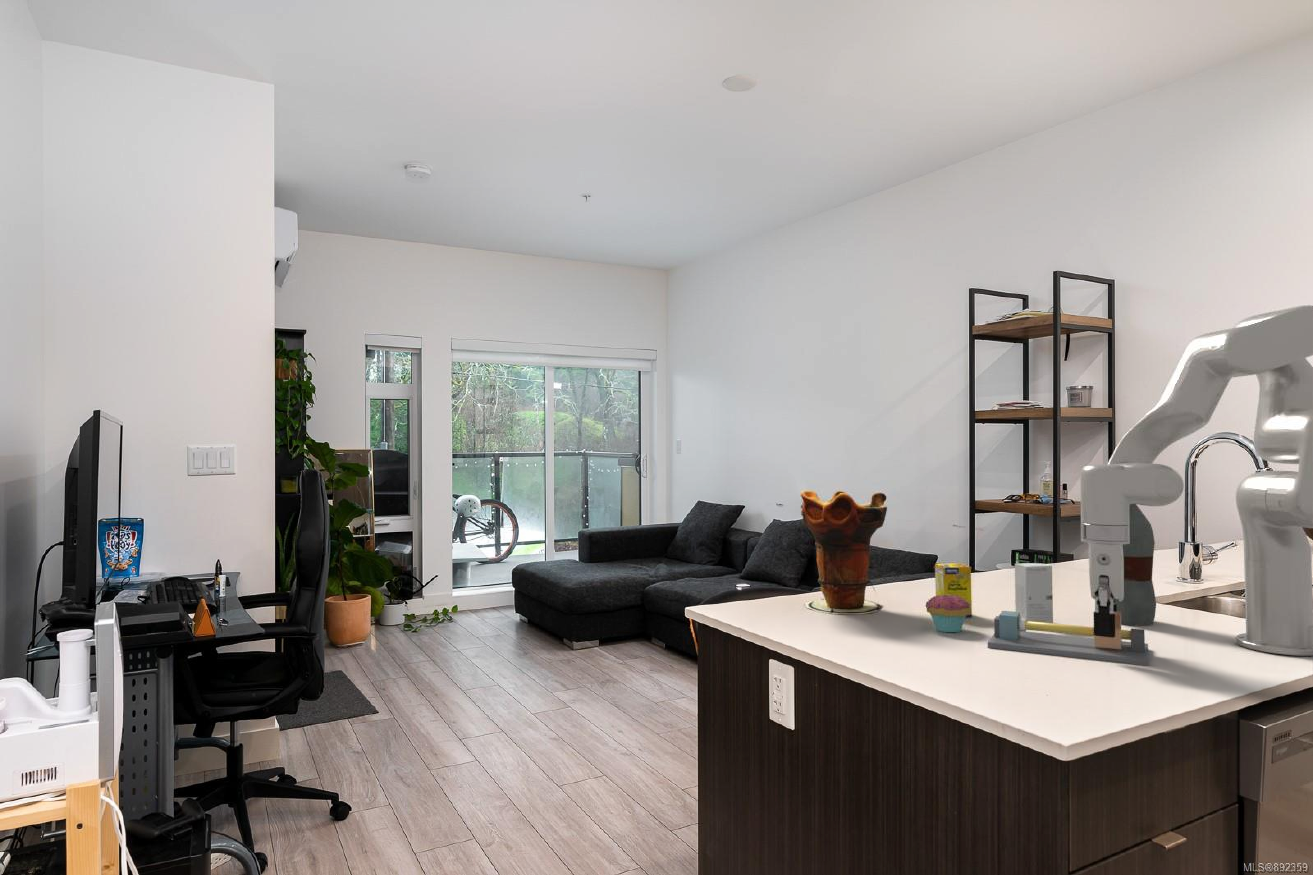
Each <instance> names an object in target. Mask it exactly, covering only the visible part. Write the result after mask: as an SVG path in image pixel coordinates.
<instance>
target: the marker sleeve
mask: <svg viewBox="0 0 1313 875" xmlns="http://www.w3.org/2000/svg"><path fill="white" fill-rule="evenodd" d="M1113 614H1115V637H1114V638H1111V637H1102V636H1095V635H1094V636H1093V638H1094V640H1095V647H1104V648H1113V649H1121V645H1122V641H1123V639H1121V630H1122V624H1121V612H1115V611H1113Z"/></svg>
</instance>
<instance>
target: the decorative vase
mask: <svg viewBox="0 0 1313 875" xmlns="http://www.w3.org/2000/svg"><path fill="white" fill-rule="evenodd" d="M800 497H801V499H802V504H801V505H800V508H801V511H800V514H801V516H802V524H804V525H805V526H806V527H807V528H808V529H809V531H810V533H811V534H812V535H813V537H814V540H815V543H814V544H815V546H816V564H817V569H818V570H817V571H818V577H819V578H818V579H817V582H818V583H819V584H820V591H821V593H822V595H823V597H824V598H819V599H816V600H811V601H808V602H806V603H804V607H805V608H807V609H810V610H813V611H815V612H819V613H825V614H832V615H840V614H841V615H843V614H845V615H861V614H862V615H865V614H871V613H875V612H878V610H877V609H880V608H881V607H882V606H883V603H877V602H876V601H872V600H868V599H866V598H865V597H866V588H867V585H868V584H871V585H873V584H872V582H871V580H870V579H868V573H869V567H870V549H871V548H870V546H871V539H872V537H873V535H874V534H875V533H876V531H877V530H878V529H880V528H881V527H883V525H884V522H885V520H886V516H887V511H888V506H886V505H884V503H885V501H887V498H888V497H887V496H886V494H885V493H883V492H875V493H873V494H872V495H871V500H870V502H868V503H863V504H862V503H861V504H860V503H856V501H855V500H854V498H853V497H851V495H849V494H848V493H847V492H846V491H843V490H837V491H835V492H834V493H833V495H832V496H831V498H830V499H829V500H826V501H822V500H821V499H820V498H819V496H818V493H816V492H815V491H812V490H802V491H801V492H800ZM872 588H873V590H874V593H875V595H877V594H876V591H875V587H874V586H872Z"/></svg>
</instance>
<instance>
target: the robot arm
mask: <svg viewBox="0 0 1313 875" xmlns="http://www.w3.org/2000/svg"><path fill="white" fill-rule="evenodd" d="M1312 356H1313V305H1300V306H1299V305H1298V306H1294V307H1289V308H1285V309H1280V310H1274V311H1269V312H1264V313H1263V312H1262V313H1260V314H1256V315H1252V316H1249V317H1247V318H1244V319H1241V320H1240V321H1239V322H1237V323H1236V324H1235V325H1234V326H1233V327H1232V328H1228V329H1227V328H1226V329H1222V330H1218V331H1213V332H1207V333H1203V334H1199V335H1198V336H1195V337H1194V338H1193V339H1191V340H1190V341H1189V343H1187V344H1186V346H1185V348H1184V350H1183V351H1182V353H1181V355H1180V357H1179V360H1178V361H1177V363H1176V365H1175V368H1174V369H1173V371H1172V372H1171V375H1170V376H1169V378H1168V381H1167V382H1166V385H1165V386H1164V388H1163V390H1162V392H1161V395H1160V397H1159V398H1158V400H1157V402H1156V404H1155V405H1154V406H1153V407H1152V408H1151V409H1150V410H1148V411H1147V413H1145V415H1143V416H1142V417H1141V418H1140V419H1139V420H1138V421H1137V422H1136V424H1134V425H1133V426H1132V427H1131V428H1130V429H1129V430H1128V431H1127V432H1126V433H1125V434H1124V435H1123V437H1122V438H1121V439H1120V441H1119V442H1118V444H1117V446H1116V447H1115V449H1114V450H1113V453H1112V454H1111V456H1110V458H1109V459H1108V462H1107V464H1105V463H1104V464H1088V465H1085V466H1083V467H1082V468H1081V470H1080V541H1081V542H1083V543H1086V544H1088V574H1089V575H1088V576H1089V589H1090V597H1091V598H1092V599H1093V600H1094V611H1093V627H1094V635H1095V636H1102V637H1111V638H1114V637H1115V614H1113V611H1115V612H1117V604H1115V599H1119V602H1121V601H1122V600H1123V599H1124V556H1123V544H1130V533H1129V505H1130V504H1136V505H1140V506H1147V507H1164V506H1167V505H1171V504H1173V503H1174V502H1176V501H1177V500H1178V499H1179V498H1180V497H1182V494H1183V493H1184V488H1185V485H1184V480H1183V477H1182V476H1181V474H1180V473H1179V472H1178V471H1177V470H1176V469H1174V468H1172V467H1170V466H1168V465H1166V464H1162V463H1154V462H1155V460H1156V459H1157V458H1158V457H1159V455H1160V454H1161V453H1163V451H1164V450H1166V449H1168V447H1169V446H1171V445H1173V444H1174V443H1177V441H1180V440H1182V439H1184V438H1186V437H1187V436H1190V435H1192V434H1194V433H1196V432H1197V431H1200V430H1201V429H1202V428H1204V427H1205V426H1206V425H1207V424H1209V422H1210V421H1211V419H1212V417H1213V415H1214V412H1215V411H1216V408H1217V406H1218V405H1219V402H1220V400H1221V398H1222V397H1223V395H1224V392H1225V390H1226V389H1227V387H1228V385H1229V383H1230V381H1231V379H1233V378H1238V377H1246V376H1247V377H1248V376H1255V375H1256V378H1257V381H1258V384H1259V385H1258V386H1259V392H1258V402H1257V411H1256V416H1255V417H1256V418H1255V426H1254V431H1253V449H1254V452H1255V453H1256V455H1257V456H1258V457H1259V458H1260V459H1261V460H1264V461H1267V462H1269V463H1274V464H1282V465H1283V464H1287V465H1298V471H1290V470H1289V471H1288V470H1263V471H1258V472H1254V473H1252V474H1249V475H1248V476H1246V477H1244V478H1243V479H1242V480H1241V481H1240V483H1239V485H1238V486H1237V489H1236V492H1235V502H1236V508H1237V513H1238V516H1239V520H1240V524H1241V529H1242V538H1243V539H1242V540H1243V560H1244V561H1243V563H1244V565H1243V566H1244V568H1243V569H1244V596H1245V597H1244V601H1245V602H1244V603H1245V633H1239V634H1236V636H1235V642H1236V644H1237V645H1239V646H1241V647H1244V648H1246V649H1249V650H1253V651H1258V652H1263V653H1267V654H1268V653H1269V654H1278V655H1285V656H1302V657H1307V656H1308V657H1310V656H1311V657H1312V656H1313V574H1312V573H1313V572H1312V571H1313V568H1312V567H1313V566H1312V562H1313V560H1312V549H1311V544H1310V541H1309V539H1308V536H1307V534H1306V532H1305V529H1304V528H1306V529H1307V528H1308V529H1313V365H1312V364H1311V363H1310V362H1309V361H1308V359H1307V358H1309V357H1312Z"/></svg>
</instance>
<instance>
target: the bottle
mask: <svg viewBox="0 0 1313 875" xmlns="http://www.w3.org/2000/svg"><path fill="white" fill-rule="evenodd" d="M1129 533H1130V544H1123V556H1124V599H1123V600H1122V601H1121V602H1119V599H1115V604H1117V612H1121V625H1125V626H1137V627H1138V626H1140V627H1141V626H1142V627H1143V626H1145V627H1146V626H1151V625H1153V624H1154V621H1155V618H1156V612H1157V611H1156V610H1157V609H1156V608H1157V600H1156V599H1157V598H1156V593H1155V588H1154V582H1153V568H1154V554H1155V553H1154V552H1155V544H1156V542H1155V535H1154V531H1153V527H1152V524H1151V522H1150V521H1149V519H1148V518H1147V516H1146V515H1145V514H1144V513H1143V511H1142V510H1141V509H1140V507H1139V506H1138V504H1130V505H1129Z"/></svg>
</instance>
